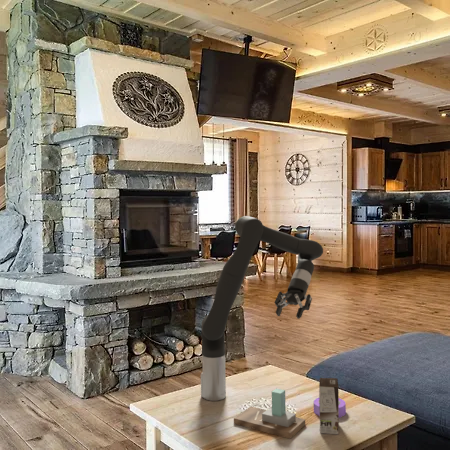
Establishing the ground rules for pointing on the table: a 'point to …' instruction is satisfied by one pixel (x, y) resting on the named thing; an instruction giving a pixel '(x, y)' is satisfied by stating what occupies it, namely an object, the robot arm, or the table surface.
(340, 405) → the masking tape
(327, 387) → the coffee box
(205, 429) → the table surface
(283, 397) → the block
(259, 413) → the walnut board
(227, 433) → the table surface
